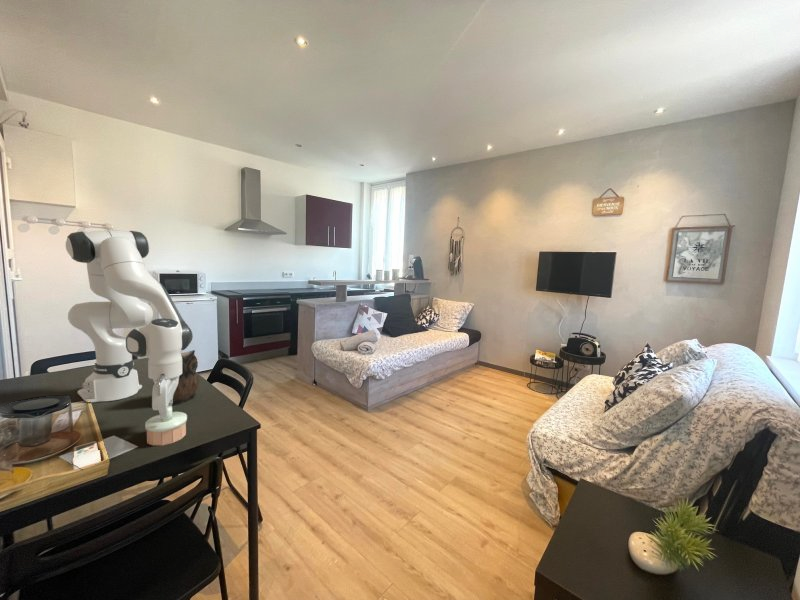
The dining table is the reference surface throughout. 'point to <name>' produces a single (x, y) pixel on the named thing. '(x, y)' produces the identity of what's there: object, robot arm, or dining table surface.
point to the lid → (166, 421)
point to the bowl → (166, 436)
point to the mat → (108, 448)
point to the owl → (187, 379)
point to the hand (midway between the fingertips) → (166, 411)
